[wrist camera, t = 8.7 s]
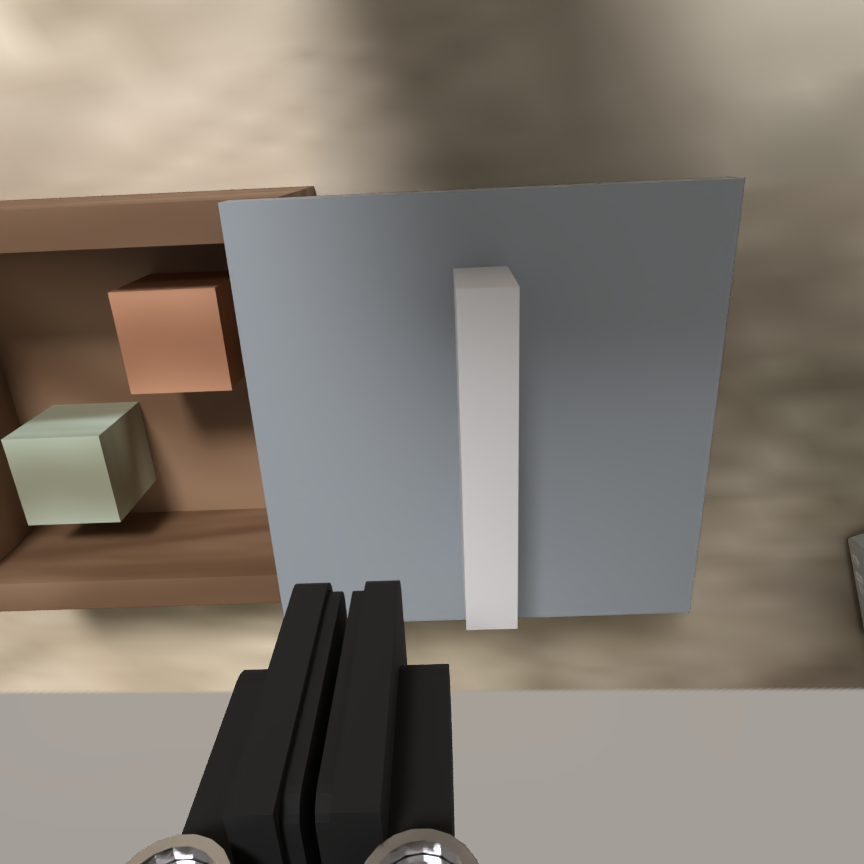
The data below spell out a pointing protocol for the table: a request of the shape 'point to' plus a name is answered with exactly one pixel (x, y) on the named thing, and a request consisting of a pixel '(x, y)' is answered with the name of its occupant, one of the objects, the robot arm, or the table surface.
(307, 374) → the cover
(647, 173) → the table surface
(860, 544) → the skincare box
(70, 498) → the box
